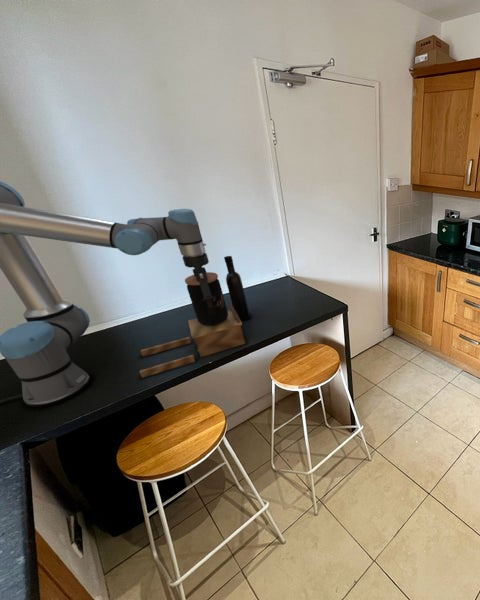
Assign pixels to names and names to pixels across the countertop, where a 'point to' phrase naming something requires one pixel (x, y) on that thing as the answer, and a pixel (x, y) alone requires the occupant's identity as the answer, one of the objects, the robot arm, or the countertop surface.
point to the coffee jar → (200, 305)
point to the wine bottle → (236, 290)
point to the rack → (201, 342)
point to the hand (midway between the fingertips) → (210, 308)
